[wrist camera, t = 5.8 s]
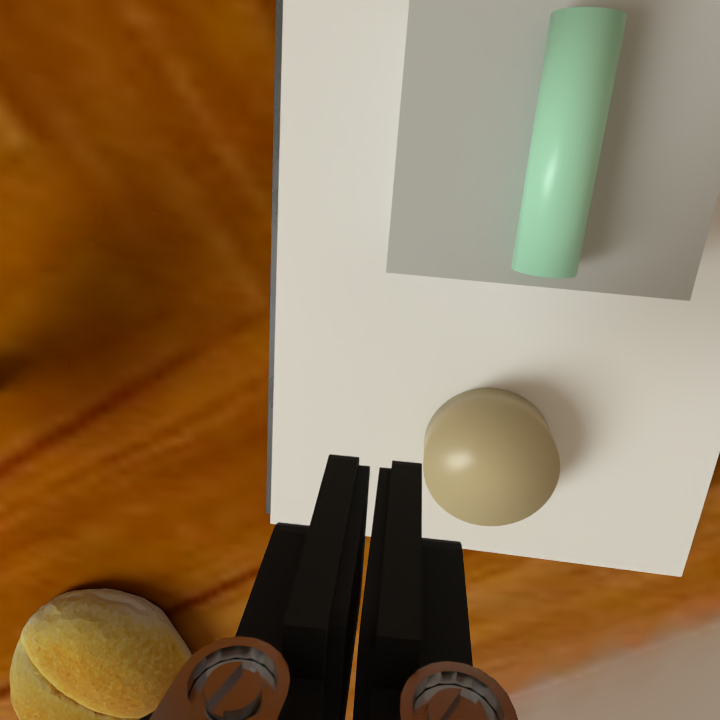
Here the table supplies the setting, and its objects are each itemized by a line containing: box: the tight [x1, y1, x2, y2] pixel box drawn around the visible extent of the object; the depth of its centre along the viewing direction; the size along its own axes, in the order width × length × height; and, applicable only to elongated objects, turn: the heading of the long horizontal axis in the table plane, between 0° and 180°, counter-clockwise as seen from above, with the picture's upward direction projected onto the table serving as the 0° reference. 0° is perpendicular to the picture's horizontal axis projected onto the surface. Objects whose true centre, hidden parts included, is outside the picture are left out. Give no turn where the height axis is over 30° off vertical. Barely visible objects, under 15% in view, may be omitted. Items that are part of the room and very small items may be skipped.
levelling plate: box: [270, 0, 720, 577], centre depth 16 cm, size 20×14×6 cm
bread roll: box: [10, 589, 192, 720], centre depth 29 cm, size 8×9×4 cm
